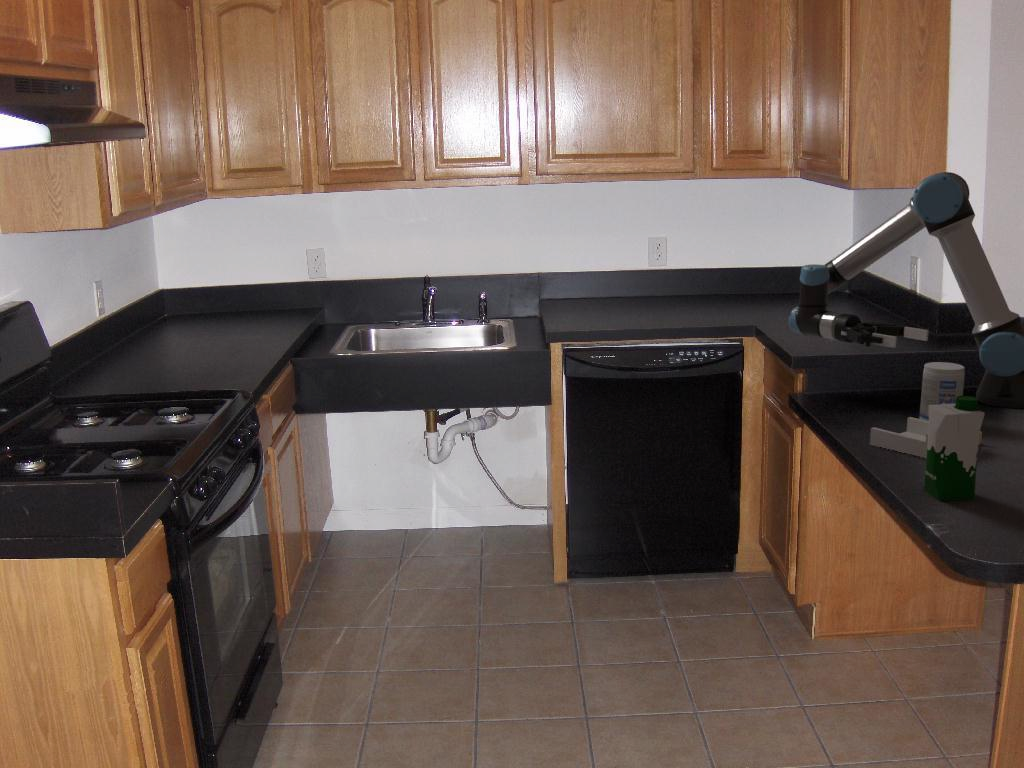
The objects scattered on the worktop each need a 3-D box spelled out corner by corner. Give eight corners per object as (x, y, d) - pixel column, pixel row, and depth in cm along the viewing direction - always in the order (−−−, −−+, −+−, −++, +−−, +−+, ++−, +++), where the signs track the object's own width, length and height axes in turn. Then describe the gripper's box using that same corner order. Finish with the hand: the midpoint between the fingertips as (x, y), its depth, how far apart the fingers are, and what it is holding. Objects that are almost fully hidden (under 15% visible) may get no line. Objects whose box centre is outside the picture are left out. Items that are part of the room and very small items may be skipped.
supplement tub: (941, 430, 253) (946, 371, 250) (910, 421, 261) (914, 364, 258) (969, 424, 257) (973, 366, 254) (937, 416, 266) (942, 359, 262)
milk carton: (981, 501, 205) (990, 403, 200) (936, 503, 204) (944, 404, 200) (959, 486, 214) (967, 392, 209) (916, 488, 213) (924, 393, 208)
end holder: (869, 444, 243) (871, 419, 241) (909, 432, 251) (911, 409, 250) (928, 460, 231) (930, 434, 229) (968, 447, 239) (970, 422, 238)
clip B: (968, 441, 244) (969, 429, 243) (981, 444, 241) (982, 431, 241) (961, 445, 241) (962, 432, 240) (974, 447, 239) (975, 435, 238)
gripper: (869, 335, 287) (938, 347, 270) (810, 346, 273) (880, 360, 256) (870, 308, 285) (941, 318, 268) (812, 318, 271) (882, 330, 254)
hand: (911, 338), depth 262 cm, fingers open, 13 cm apart
